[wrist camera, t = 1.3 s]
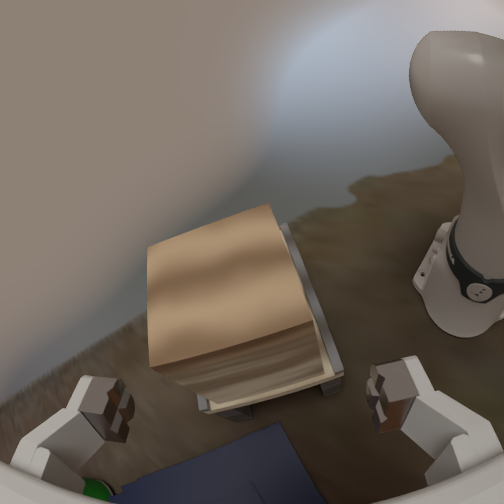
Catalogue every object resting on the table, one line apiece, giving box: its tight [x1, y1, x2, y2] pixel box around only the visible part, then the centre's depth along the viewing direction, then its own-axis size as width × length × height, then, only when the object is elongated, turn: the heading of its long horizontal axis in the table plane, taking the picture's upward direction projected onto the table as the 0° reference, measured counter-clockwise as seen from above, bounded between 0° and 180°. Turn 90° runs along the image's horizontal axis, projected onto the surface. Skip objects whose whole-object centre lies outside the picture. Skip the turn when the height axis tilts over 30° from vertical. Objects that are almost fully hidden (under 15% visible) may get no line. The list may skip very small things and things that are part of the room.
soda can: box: [82, 478, 113, 502], centre depth 30 cm, size 8×8×12 cm
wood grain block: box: [147, 203, 325, 404], centre depth 29 cm, size 12×12×14 cm
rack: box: [197, 223, 344, 422], centre depth 42 cm, size 23×16×12 cm
